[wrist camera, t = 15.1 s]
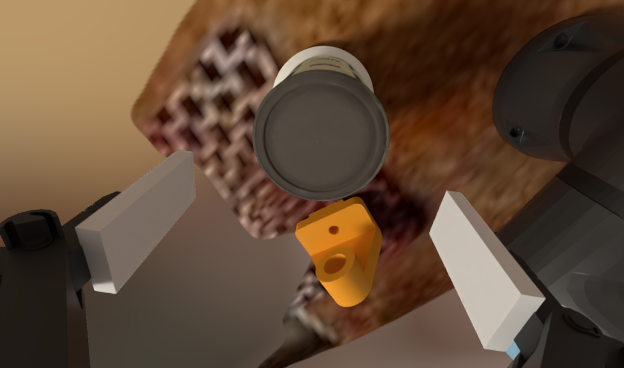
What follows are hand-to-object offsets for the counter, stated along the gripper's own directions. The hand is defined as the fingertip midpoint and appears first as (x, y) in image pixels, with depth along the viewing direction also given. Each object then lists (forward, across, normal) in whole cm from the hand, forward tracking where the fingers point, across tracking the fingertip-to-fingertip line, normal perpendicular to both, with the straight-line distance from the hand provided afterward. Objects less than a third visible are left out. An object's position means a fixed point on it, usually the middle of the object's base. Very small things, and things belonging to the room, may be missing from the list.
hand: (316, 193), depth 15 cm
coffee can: (+22, 0, 0) cm, 22 cm away
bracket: (+23, -5, +18) cm, 30 cm away
